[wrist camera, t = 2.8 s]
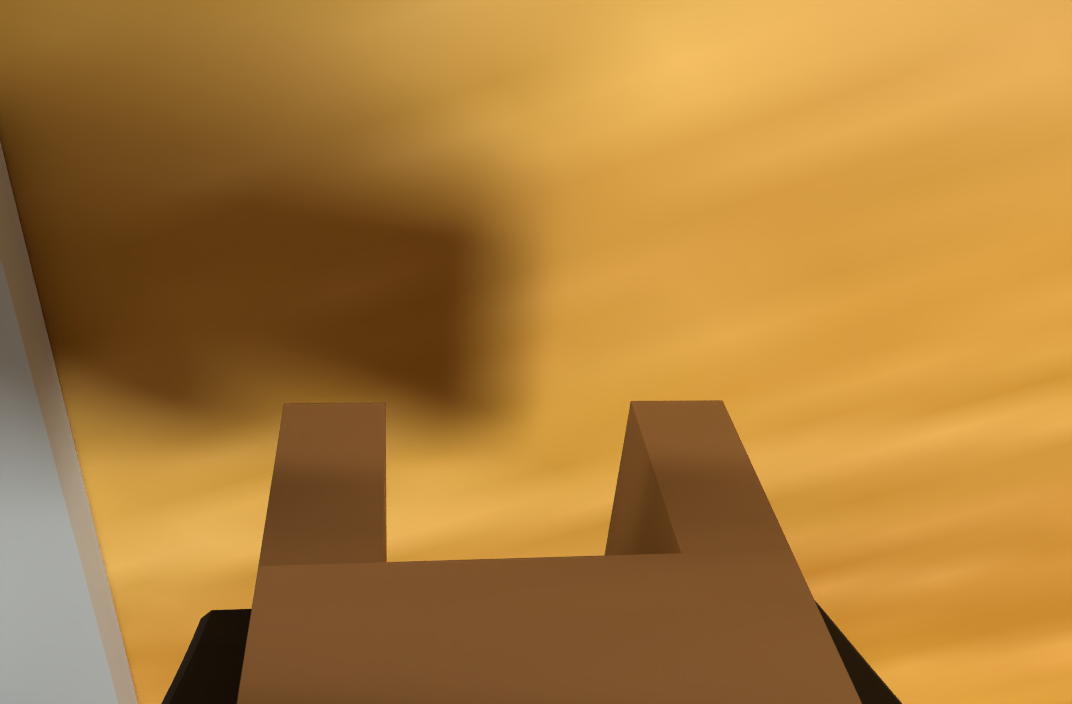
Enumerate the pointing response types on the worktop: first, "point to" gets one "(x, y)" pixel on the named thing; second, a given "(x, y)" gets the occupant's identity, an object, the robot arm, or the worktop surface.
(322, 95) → the worktop surface
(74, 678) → the rail
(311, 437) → the brown notched block
